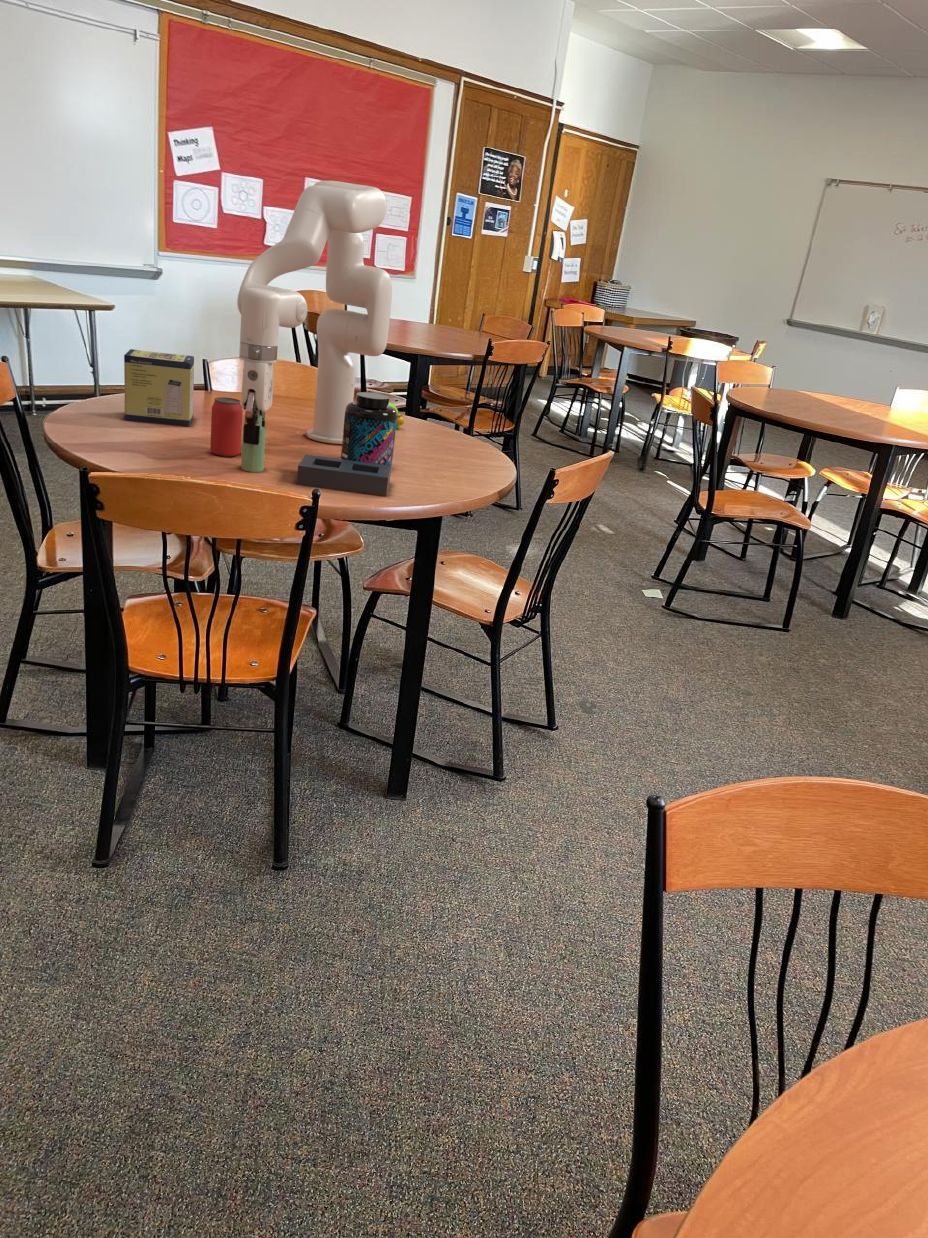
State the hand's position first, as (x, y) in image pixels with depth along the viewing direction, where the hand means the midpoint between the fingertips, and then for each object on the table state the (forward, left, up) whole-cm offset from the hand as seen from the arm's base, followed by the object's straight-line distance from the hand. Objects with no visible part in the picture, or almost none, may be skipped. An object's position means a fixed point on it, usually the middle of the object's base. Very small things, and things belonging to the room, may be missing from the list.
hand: (253, 440), depth 190 cm
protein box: (-35, -30, -6) cm, 47 cm away
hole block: (+2, +20, -6) cm, 21 cm away
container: (-17, +23, -6) cm, 29 cm away
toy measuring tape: (-68, +21, -6) cm, 71 cm away
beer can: (-10, -8, -6) cm, 14 cm away
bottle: (0, 0, -6) cm, 6 cm away
